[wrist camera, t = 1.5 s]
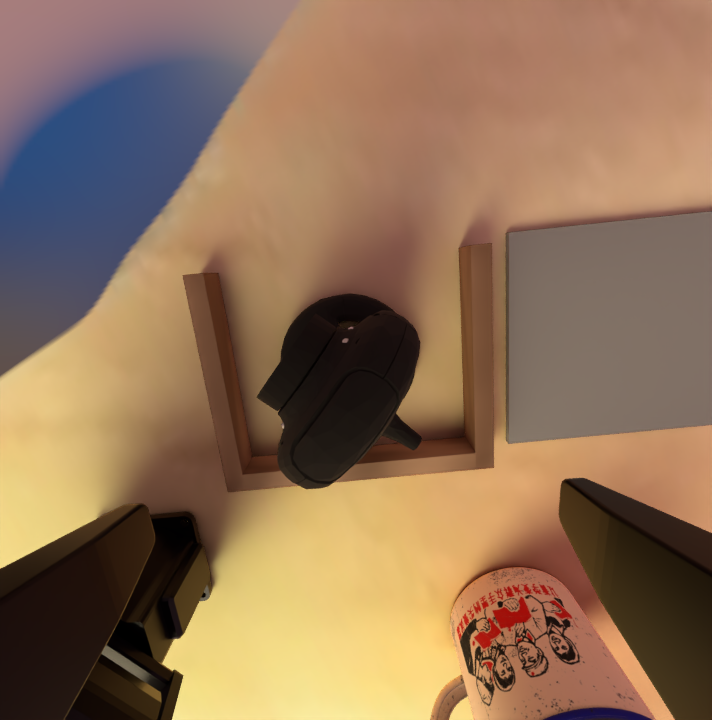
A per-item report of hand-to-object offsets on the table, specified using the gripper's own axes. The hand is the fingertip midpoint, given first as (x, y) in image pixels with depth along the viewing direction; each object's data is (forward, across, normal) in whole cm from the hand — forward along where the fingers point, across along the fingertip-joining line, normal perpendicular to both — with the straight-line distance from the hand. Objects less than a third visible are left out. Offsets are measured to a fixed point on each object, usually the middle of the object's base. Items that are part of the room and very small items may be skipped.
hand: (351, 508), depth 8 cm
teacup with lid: (+13, -8, +20) cm, 25 cm away
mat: (+14, -14, 0) cm, 20 cm away
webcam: (+13, +1, 0) cm, 13 cm away
